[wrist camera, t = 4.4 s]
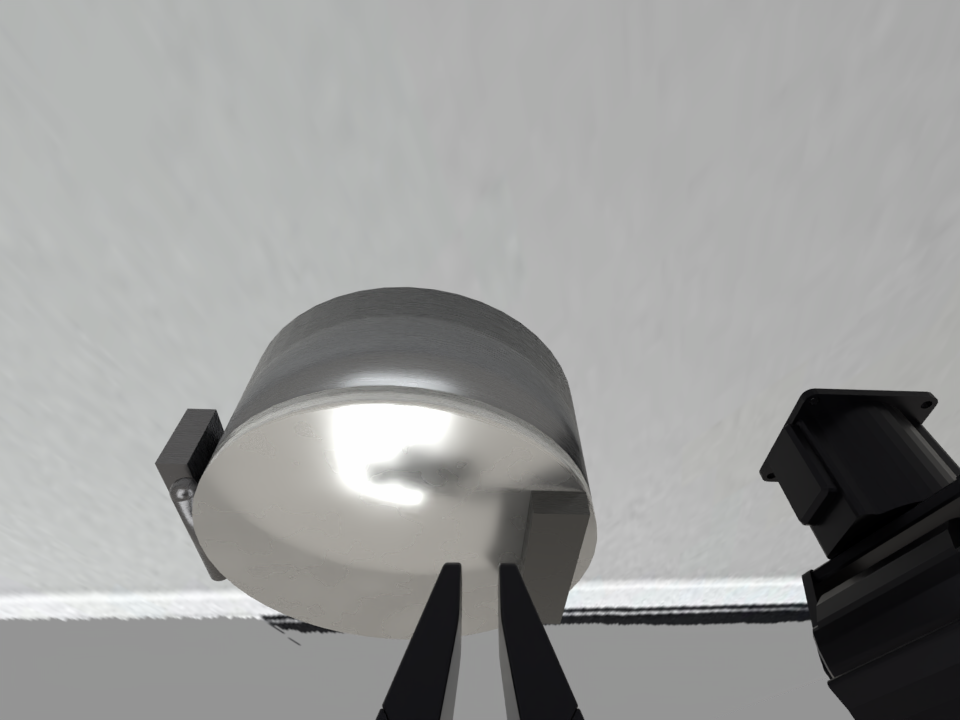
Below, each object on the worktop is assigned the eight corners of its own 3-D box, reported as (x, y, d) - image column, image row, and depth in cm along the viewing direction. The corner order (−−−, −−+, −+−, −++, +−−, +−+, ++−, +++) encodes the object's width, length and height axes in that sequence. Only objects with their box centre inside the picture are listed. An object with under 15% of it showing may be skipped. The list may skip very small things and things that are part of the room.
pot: (598, 293, 23) (629, 387, 18) (552, 519, 33) (564, 618, 28) (185, 279, 23) (109, 372, 18) (264, 513, 33) (229, 612, 28)
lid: (630, 392, 18) (644, 436, 17) (564, 622, 28) (569, 663, 27) (128, 377, 18) (94, 421, 16) (241, 616, 28) (227, 657, 26)
